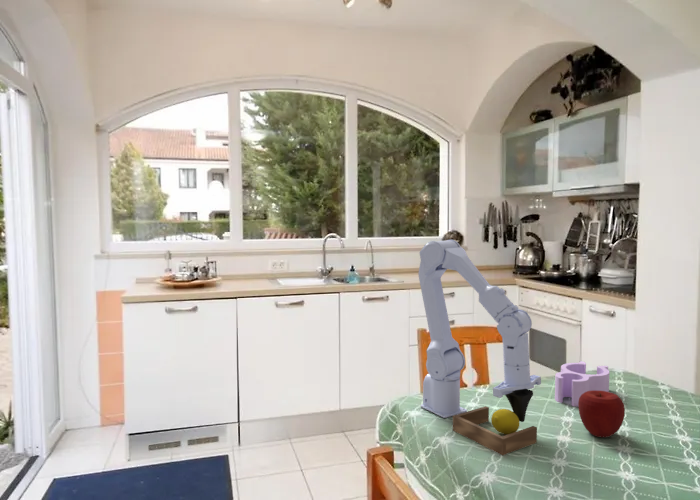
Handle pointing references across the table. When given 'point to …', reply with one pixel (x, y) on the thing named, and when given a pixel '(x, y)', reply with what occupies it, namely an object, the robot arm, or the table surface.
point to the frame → (501, 444)
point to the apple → (601, 412)
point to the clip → (579, 381)
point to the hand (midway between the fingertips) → (519, 420)
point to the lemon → (505, 421)
